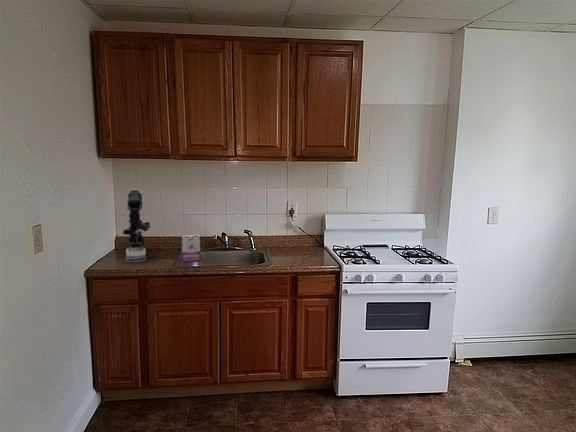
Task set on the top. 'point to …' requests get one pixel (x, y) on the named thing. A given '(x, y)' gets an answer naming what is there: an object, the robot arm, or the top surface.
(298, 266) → the top surface
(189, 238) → the candy bar box
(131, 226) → the robot arm
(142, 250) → the canister
